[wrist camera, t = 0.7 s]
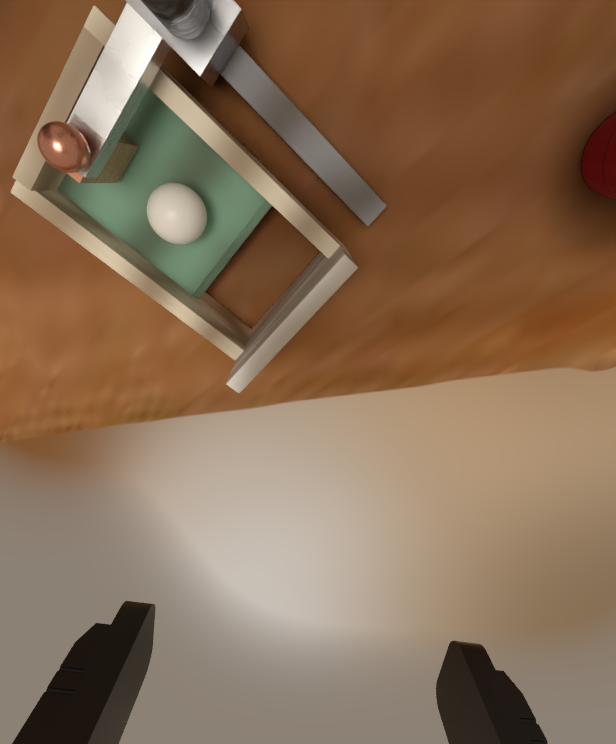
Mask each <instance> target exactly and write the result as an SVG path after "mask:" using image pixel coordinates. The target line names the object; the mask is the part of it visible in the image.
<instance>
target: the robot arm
mask: <svg viewBox="0 0 616 744" xmlns="http://www.w3.org/2000/svg"><path fill="white" fill-rule="evenodd" d="M154 619H155V605H154V604H147V603H139V602H131V601H125V602H124V604H123V605H122V606H121V608H120V609H119V611H118V613H117V615H116V617H115V618H114V620H113V622H112V624H111V625H108V624H100V623H96V624H95V625H94V626H93V627H91V628H90V629H89V630H88V631H87V632H86V633H85V634H84V635H83V636H82V637H80V638H79V639H78V640H77V641H76V642H75V644H74V645H73V647H72V648H71V650H70V652H69V653H68V655H67V657H66V658H65V660H64V661H63V663H62V664H61V667H60V669H59V671H57V672H56V674H55V676H54V677H53V679H52V681H51V682H50V684H49V685H48V688H47V691H46V692H44V694H43V695H42V697H41V698H40V700H39V701H38V703H37V705H36V706H35V708H34V709H33V711H32V713H31V714H30V716H29V718H28V719H27V721H26V723H25V724H24V726H23V727H22V729H21V730H20V732H19V734H18V735H17V737H16V738H15V740H14V742H13V743H12V744H119V741H120V739H121V736H122V734H123V731H124V729H125V726H126V724H127V721H128V719H129V716H130V713H131V711H132V708H133V706H134V703H135V701H136V698H137V696H138V693H139V690H140V688H141V686H142V683H143V681H144V678H145V675H146V672H147V669H148V666H149V662H150V658H151V653H152V647H153V634H154ZM436 695H437V696H436V697H437V704H438V709H439V712H440V716H441V719H442V722H443V726H444V729H445V732H446V735H447V738H448V742H449V744H547V740H546V738H545V736H544V734H543V732H542V730H541V729H540V726H539V725H538V724H537V723H536V719H535V717H534V715H533V713H532V711H531V709H530V707H529V705H528V703H527V701H526V699H525V698H524V696H523V694H522V693H521V691H520V690H519V689H518V688H517V687H516V686H515V684H514V683H513V682H512V681H511V680H510V678H509V677H508V676H507V675H506V673H505V672H504V671H498V670H495V668H494V666H493V664H492V662H491V660H490V658H489V656H488V654H487V652H486V650H485V648H484V647H483V646H482V645H480V644H476V643H467V642H459V641H452V642H450V644H449V647H448V650H447V653H446V656H445V659H444V662H443V665H442V668H441V671H440V674H439V677H438V680H437V685H436Z"/></svg>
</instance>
